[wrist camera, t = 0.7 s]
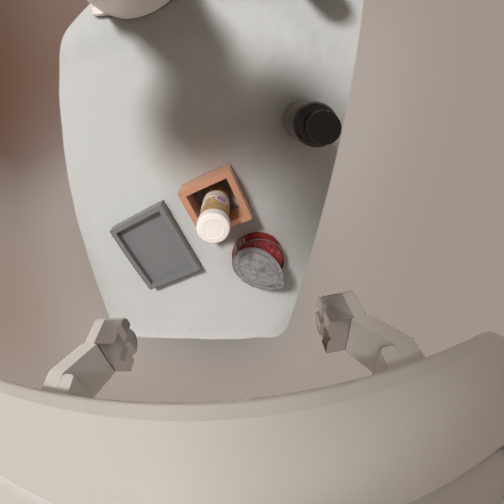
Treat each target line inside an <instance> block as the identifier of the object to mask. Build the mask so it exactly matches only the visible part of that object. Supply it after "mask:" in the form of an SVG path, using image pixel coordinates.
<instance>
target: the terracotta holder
mask: <svg viewBox="0 0 504 504" xmlns="http://www.w3.org/2000/svg"><path fill="white" fill-rule="evenodd" d="M226 178H227V181H228V183H229V185H230V187H231V189H232V191H233V193H234V196H235V198H236V200H237V202H238V204H239V207H237V208H234V209H232V210H230V211H229V219H230V228H231V227H234V226H236V225H239V224H241V223H244V222H246V221H248V220H251V219H252V216H251V211H250V207H249V205H248V202H247V200H246V198H245V196H244V194H243V191H242V189H241V187H240V185H239V183H238V180H237V178H236V176H235V174H234V172H233V170H232V167H231V165H230V163H229V164H226V165H224V166H222V167H219V168H217V169H215V170H213V171H211V172H208V173H206V174H204V175H202V176H200V177H197V178H195V179H193V180H191V181H189V182H187V183H185V184H183V185H182V186H181V188H180V190H179V192H178V195H179V197H180V199H181V201H182V203H183V205H184V206H185V208H186V210H187V212H188V214H189V216H190V217H191V219H192V221H193V223H194V225H195V226H196V225H197V220H198V217H199V216H200V211H201V207H200V205H199V204H198V202H197V200H196V198H195V196H194V194H193V193H195V192H197V191H199V190H201V189H203V188H206V187H208V186H210V185H212V184H215V183H217V182H219V181H221V180H224V179H226Z"/></svg>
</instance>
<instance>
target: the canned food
mask: <svg viewBox="0 0 504 504" xmlns="http://www.w3.org/2000/svg"><path fill="white" fill-rule="evenodd" d="M232 265H233V269H234V271H235V273H236V274H237V275H238V276H239V277H240V278H241V279H242V281H243V282H245V283H247V284H249V285H250V286H252V287H256V288H259V289H261V290H270V291H272V290H279V289H281V288H282V287H283V285H284V283H285V280H284V276H283V271H282V268H283V265H284V254H283V252H282V249H281V246H280V244H279V242H278V241H277V240H276V239H275V238H274V237H273V236H271V235H269V234H267V233H262V232H255V233H250V234H247V235H245V236H243V237H242V238H240V239H239V240H238V241H237V243H236V244H235V246H234V248H233V251H232Z"/></svg>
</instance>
